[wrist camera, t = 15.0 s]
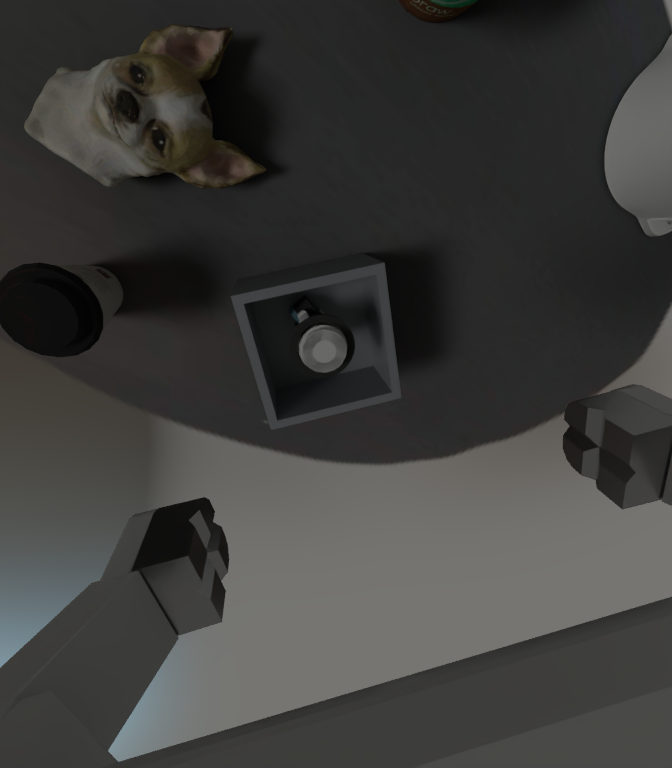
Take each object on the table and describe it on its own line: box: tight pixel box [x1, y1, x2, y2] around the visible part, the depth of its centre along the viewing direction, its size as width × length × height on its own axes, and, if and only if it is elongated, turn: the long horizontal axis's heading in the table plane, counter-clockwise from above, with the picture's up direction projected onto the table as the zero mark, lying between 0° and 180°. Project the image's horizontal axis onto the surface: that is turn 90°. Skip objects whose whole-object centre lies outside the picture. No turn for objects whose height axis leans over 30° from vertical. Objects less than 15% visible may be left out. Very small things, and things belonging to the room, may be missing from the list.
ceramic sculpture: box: [25, 24, 266, 189], centre depth 28 cm, size 11×9×15 cm
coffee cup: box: [0, 263, 123, 357], centre depth 31 cm, size 7×7×10 cm
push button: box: [289, 295, 355, 378], centre depth 35 cm, size 7×5×10 cm
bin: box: [231, 253, 401, 430], centre depth 37 cm, size 13×13×8 cm
